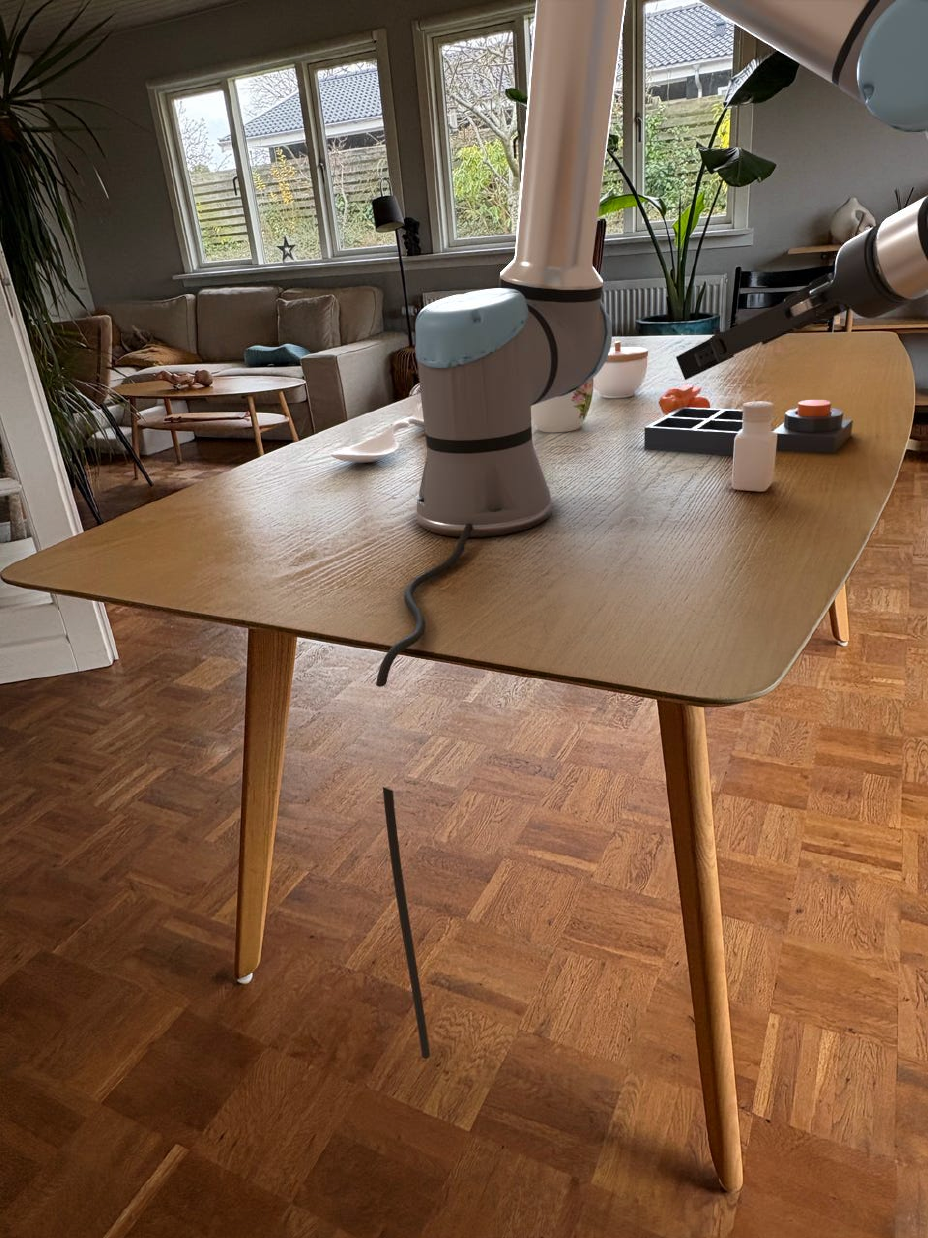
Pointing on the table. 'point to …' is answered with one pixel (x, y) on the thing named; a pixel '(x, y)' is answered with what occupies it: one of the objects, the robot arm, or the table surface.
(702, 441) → the rack
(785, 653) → the table surface
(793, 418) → the control block
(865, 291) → the robot arm
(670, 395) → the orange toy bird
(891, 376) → the table surface
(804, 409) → the button
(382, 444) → the spoon
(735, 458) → the pepper shaker
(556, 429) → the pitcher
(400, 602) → the table surface
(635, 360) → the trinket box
